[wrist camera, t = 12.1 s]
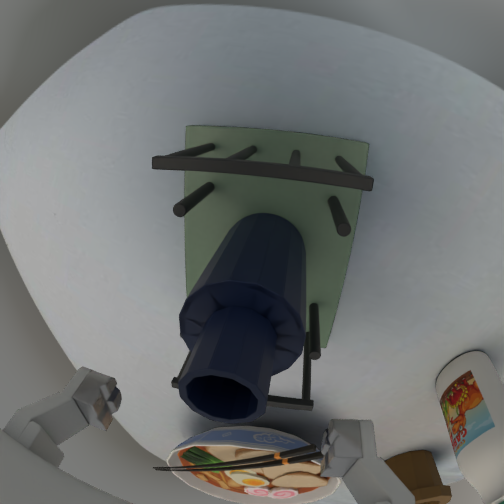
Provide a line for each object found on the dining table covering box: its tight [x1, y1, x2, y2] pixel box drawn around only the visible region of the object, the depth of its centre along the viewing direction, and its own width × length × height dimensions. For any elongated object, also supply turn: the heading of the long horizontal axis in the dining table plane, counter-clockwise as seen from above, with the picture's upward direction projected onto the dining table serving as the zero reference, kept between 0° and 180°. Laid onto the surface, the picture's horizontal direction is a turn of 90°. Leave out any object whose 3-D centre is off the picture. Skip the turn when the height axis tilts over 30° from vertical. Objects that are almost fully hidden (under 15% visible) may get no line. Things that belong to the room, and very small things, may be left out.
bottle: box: [178, 213, 306, 424], centre depth 17 cm, size 6×6×14 cm
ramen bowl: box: [153, 426, 341, 504], centre depth 33 cm, size 25×23×8 cm
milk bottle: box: [436, 351, 504, 504], centre depth 18 cm, size 8×8×20 cm
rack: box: [152, 125, 374, 411], centre depth 20 cm, size 18×13×10 cm
